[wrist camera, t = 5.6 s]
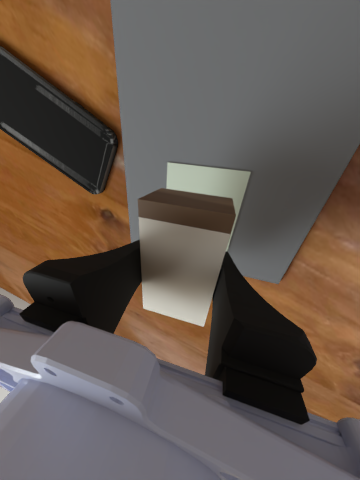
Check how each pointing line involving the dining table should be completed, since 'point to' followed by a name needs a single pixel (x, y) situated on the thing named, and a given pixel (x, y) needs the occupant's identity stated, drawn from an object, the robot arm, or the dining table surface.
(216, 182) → the pad
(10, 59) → the phone
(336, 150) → the mat
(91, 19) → the dining table surface
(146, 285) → the card box
